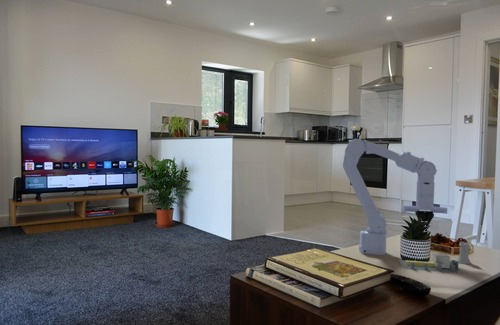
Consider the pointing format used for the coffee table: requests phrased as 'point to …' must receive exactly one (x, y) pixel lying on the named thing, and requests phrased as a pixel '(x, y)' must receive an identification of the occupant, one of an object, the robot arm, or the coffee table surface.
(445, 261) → the sleeve
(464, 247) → the rook chess piece
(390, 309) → the coffee table surface
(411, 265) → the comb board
